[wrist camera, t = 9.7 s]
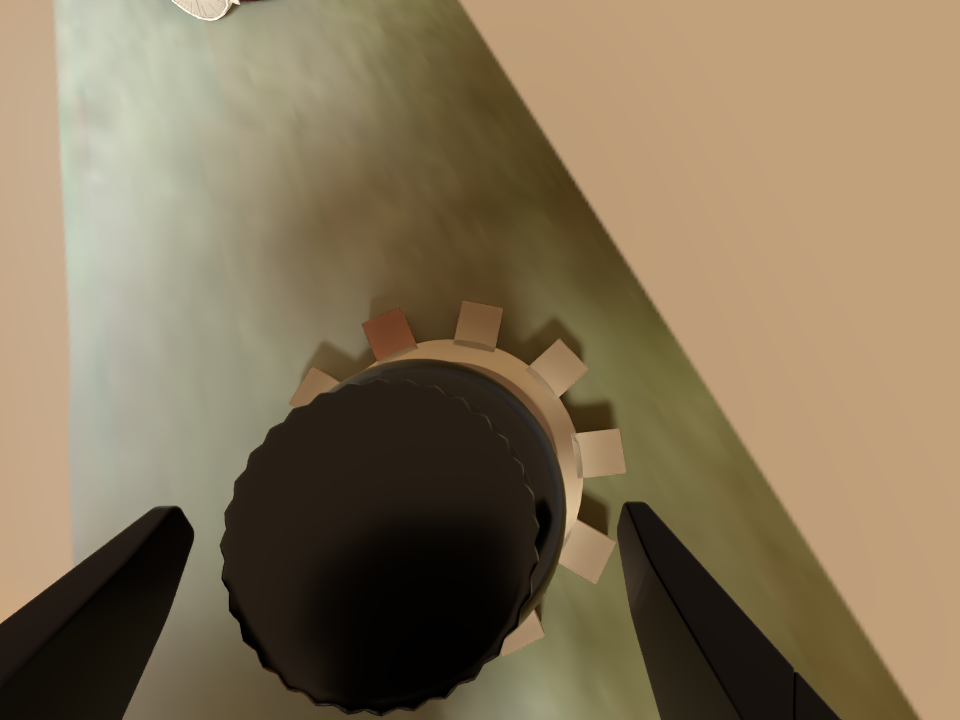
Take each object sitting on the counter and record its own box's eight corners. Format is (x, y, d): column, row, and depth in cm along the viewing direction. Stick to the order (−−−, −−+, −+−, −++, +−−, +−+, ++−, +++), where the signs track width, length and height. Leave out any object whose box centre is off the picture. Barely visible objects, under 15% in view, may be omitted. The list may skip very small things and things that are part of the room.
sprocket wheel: (674, 557, 19) (690, 565, 18) (359, 714, 18) (349, 736, 17) (526, 261, 22) (529, 248, 20) (239, 387, 21) (221, 383, 19)
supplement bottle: (544, 410, 19) (649, 360, 7) (515, 584, 18) (582, 869, 6) (382, 378, 19) (223, 280, 7) (343, 548, 18) (79, 754, 6)
